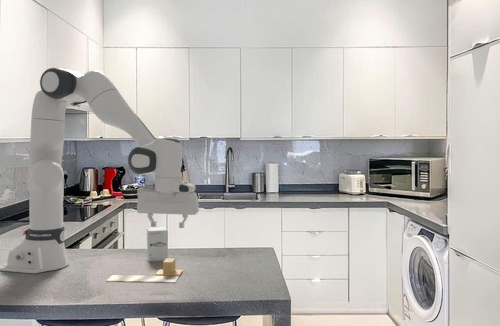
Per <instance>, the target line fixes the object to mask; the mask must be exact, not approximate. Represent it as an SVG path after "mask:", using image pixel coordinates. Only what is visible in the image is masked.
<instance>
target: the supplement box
mask: <svg viewBox="0 0 500 326" xmlns="http://www.w3.org/2000/svg"><path fill="white" fill-rule="evenodd" d="M168 233H169V231H168V228H167V227H166V226H159V227H158V226H156V227H146V259H147V262H159V261H164V260H165V259H166V258H168V257H169V256H168V255H169V254H168V253H169V251H168V248H169V247H168V246H169V245H168V244H169V243H168V238H169V236H168V235H169V234H168Z"/></svg>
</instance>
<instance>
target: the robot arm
mask: <svg viewBox="0 0 500 326" xmlns="http://www.w3.org/2000/svg"><path fill="white" fill-rule="evenodd" d="M39 86H40V90H39V91H37V92H36V93H35V96H34V99H33V104H32V107H31V117H30V118H31V120H30V141H29V151H28V152H29V155H28V168H27V169H28V171H27V174H28V176H27V177H28V179H29V183H28V185H29V186H28V187H29V190H28V191H29V194H28V195H29V204H28V205H29V206H28V207H29V210H28V211H29V228H28V229H26V230H24V231H23V232H22V235H23V236H25V237H24V239H23V240H22V241H21V242H19V243H18V244H17V245H15V246H14V247H12V248H11V250H10V251H9V252H8V256H7V262H5V263H3V264H2V265H0V271H3V272H11V273H12V272H13V273H24V274H40V273H43V272H49V271H56V270H59V269H63V268H65V267H67V266H69V261H68V258H67V257H68V256H67V253H66V247H65V241H66V239H65V238H66V232H65V226H64V205H63V204H64V189H65V188H64V185H65V184H64V183H65V177H64V176H65V174H64V169H63V168H62V159H63V151H64V144H65V127H66V126H65V125H66V124H65V123H66V109H67V107H68V106H70V105H71V106H73V107H74V106H79V105H81V104H86V103H87V104H88V107H89V108H90V109H91V111H92V112H93V114H94V115H95V116H96V117H97V118H98V120H100V122H102V123H103V124H105V125H109V126H110V127H114V128H117V129H120V130H121V131H123V132H125V133H126V134H128V135H129V136H130V137H131V138H132V139H133V141H134V142H135V143H136V144H137V147H134V148H132V149H131V150H130V152H128V153H129V154H128V157H127V164H128V167H129V169H130V171H131V172H132V173H133V174H136V175H141V176H145V175H146V176H147V175H154V185H152V184H150V185H146V184H142V185H141V186H139V187H138V188H137V192H136V193H137V194H136V195H137V204H136V211H137V212H138V213H139V214H147V218H148V220H149V222H150V228H153V227H157V220H154V218H153V216H154V215H155V214H156V215H157V214H159V215H161V214H162V215H181V216H182V218H183V219H182V221H180V222H179V223H178V228H179V229H184V228H185V223H186V221H187V220H188V217H189V216H192V215H193V216H196V215H197V214H198V213H199V210H200V208H199V207H200V203H199V197H198V195H197V192H195V191H196V185H195V184H193V183H191V182H188V181H185V180H183V175H182V166H183V149H182V143H181V142H180V140H179V139H177V138H175V137H171V136H164V135H163V136H162V135H161V136H158V137H155V136H154V135H153V134H152V132H151V131H150V130H149V128H148V127H147V125H146V124H145V122H143V120H141V118H140V117H139V116H138V114H136V113H135V112H134V110H133V109H132V108H131V107H130V106H129V104H128V102H127V101H126V100H125V99H124V97H123V95H122V94H121V93H120V91H119V89H118V88H117V86H115V84H114V83H113V82H112V81H111V80H110V78H108V76H107V75H106V74H105V73H104V72H102V71H100V70H93V69H92V70H89V71H87V72H86V73H82V72H79V71H76V70H73V69H72V70H71V69H65V68H61V67H50V68H47V69H46V70H44V72H43V73H42V74H41V76H40V79H39Z"/></svg>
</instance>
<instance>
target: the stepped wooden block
mask: <svg viewBox="0 0 500 326" xmlns="http://www.w3.org/2000/svg"><path fill="white" fill-rule="evenodd" d="M162 261H163V262H162V269H158V270H157V272H156V273H154V275H159V276H179V277H181V275H182V274H183V271H184V269H176V258H175V257H174V258H171V257H169V258H166V259H165V260H162Z"/></svg>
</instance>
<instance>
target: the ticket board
mask: <svg viewBox="0 0 500 326" xmlns="http://www.w3.org/2000/svg"><path fill="white" fill-rule="evenodd" d="M179 278H180V276H159V275H155V274H154V275H151V274H150V275H149V274H145V275H143V274H112V275H110V277H108V278H107V279H106V280H105V282H112V283H113V282H114V283H115V282H116V283H154V284H155V283H156V284H157V283H158V284H160V283H161V284H163V283H164V284H175V283H176V282H177V280H178V279H179Z"/></svg>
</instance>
